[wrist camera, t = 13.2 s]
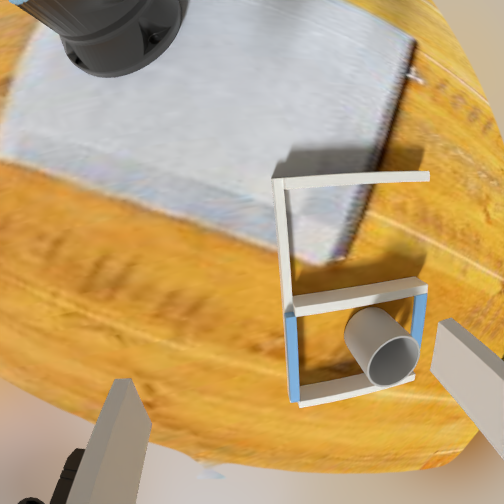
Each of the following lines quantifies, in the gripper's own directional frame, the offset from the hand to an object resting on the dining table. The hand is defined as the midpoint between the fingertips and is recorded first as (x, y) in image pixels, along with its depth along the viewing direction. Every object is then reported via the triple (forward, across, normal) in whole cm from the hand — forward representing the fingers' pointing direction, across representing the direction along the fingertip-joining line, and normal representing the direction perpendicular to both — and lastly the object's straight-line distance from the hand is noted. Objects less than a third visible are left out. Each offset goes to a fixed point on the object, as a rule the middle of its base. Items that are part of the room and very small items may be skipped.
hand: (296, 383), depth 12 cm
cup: (+26, +15, -17) cm, 34 cm away
